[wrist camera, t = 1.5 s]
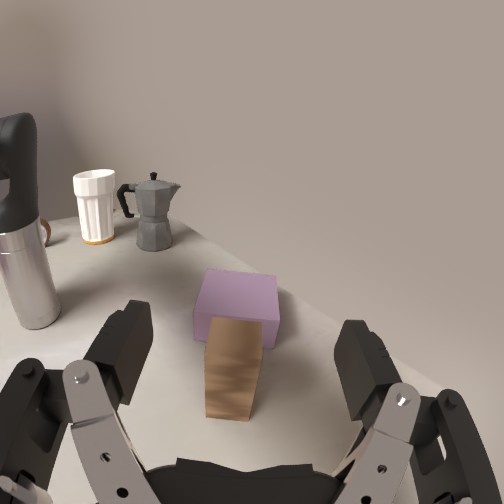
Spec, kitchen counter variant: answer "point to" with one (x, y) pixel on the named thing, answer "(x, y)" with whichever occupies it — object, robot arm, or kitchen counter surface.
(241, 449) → the kitchen counter surface
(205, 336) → the base block
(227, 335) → the walnut block
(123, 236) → the kitchen counter surface
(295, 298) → the kitchen counter surface
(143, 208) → the coffeepot
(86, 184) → the cup
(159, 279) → the kitchen counter surface
